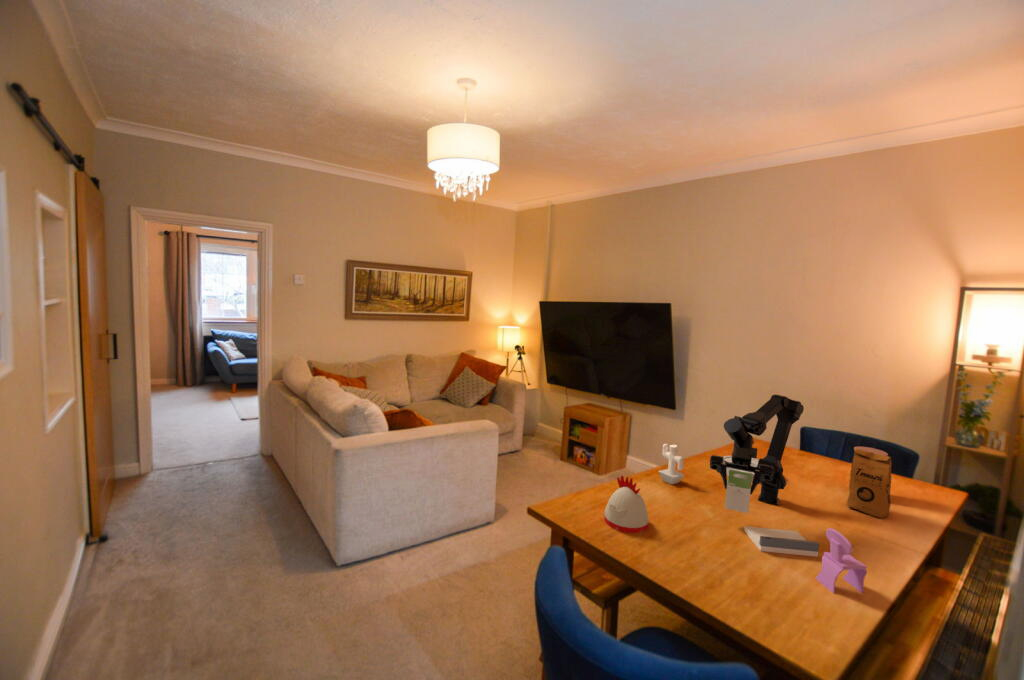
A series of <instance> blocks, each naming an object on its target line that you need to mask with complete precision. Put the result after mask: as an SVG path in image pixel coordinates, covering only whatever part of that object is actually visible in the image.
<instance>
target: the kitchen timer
mask: <svg viewBox="0 0 1024 680" xmlns="http://www.w3.org/2000/svg"><path fill="white" fill-rule="evenodd" d="M616 480H617V485H618V487H619V488H618V489H616V490H615V491H613V493H612V494H611V496H610V497H609V500H608V502H607V504H606V507H605V510H604V516H603V517H604V518H603V520H604V522H605V524H607V526H609V527H610V528H611V529H614V530H616V531H619V532H624V533H631V534H635V533H636V534H637V533H642V532H644V531H646V530H647V529H648V527H649V516H648V515H649V514H648V510H647V506H646V503H645V500H644V499H643V496H642V495H641V494H640V493H639V492H640V491H641V487H640V488H638V489H636V487H637V484H638V483H637V482H635V483H633V478H632V477H631V478H630V479H629V476H626V477H625V478H624V475H620V477H616Z"/></svg>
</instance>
